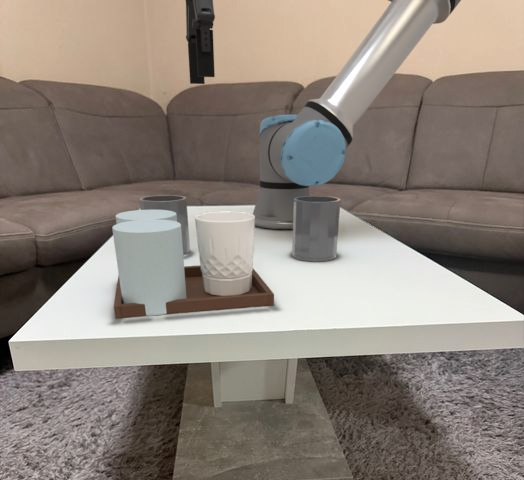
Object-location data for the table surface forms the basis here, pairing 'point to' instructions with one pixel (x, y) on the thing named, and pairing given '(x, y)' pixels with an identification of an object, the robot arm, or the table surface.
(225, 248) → the white cup
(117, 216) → the blue round block
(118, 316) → the tray
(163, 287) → the pale blue cylinder
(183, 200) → the grey cup
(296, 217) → the grey cup
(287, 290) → the table surface
